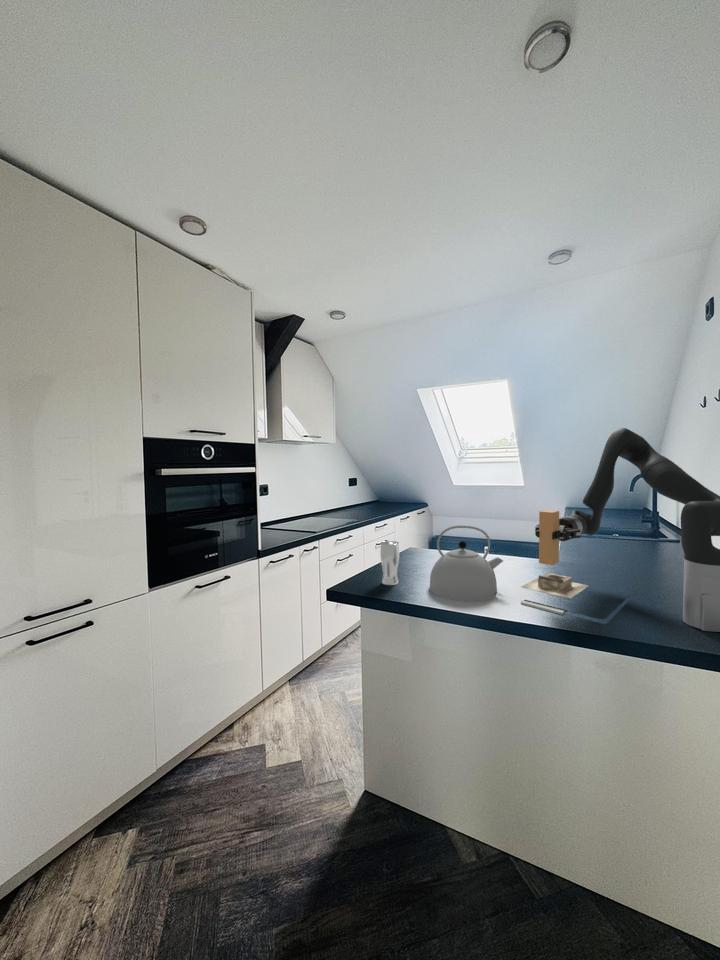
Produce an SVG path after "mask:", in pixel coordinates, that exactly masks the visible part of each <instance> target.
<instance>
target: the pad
mask: <svg viewBox="0 0 720 960" xmlns="http://www.w3.org/2000/svg"><path fill="white" fill-rule="evenodd" d="M520 604H521V605H524V606H528V607H532V608H536V609H538V610H541V611H542V610H543V611H546V612H549V613H553V614H554V613H555V614H558V615H561V616H562V615H564V614H565V613H566V612H568V610H567V609H563V608H560V607H556V606H553V605H548V604H544V603H540V602H536V601H532V600H527V599H524V600H522V601H520Z"/></svg>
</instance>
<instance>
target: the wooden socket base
mask: <svg viewBox="0 0 720 960" xmlns="http://www.w3.org/2000/svg"><path fill="white" fill-rule="evenodd" d="M572 579H573V578H572V576H568V575H567V576H566V575H562V574H555V573H552V572H551V573H550V572H548V573H546V574H543V575H541V574H539V575H538V578H535V579H534V580H532V581H529V582H527V583H526V584H523V585H521V586H520V588H522V589H528V590H531V591H536V592H541V593H545V594H548V595H553V596H558V597H563V598H567V599H572V598H573V597H575V596H577V595H578V594H579V593H581V592H582V591H584V590H585V589H587V588H588V587H589V586H590V585H587V584H585V583H583V584H582V583H578V582H573V581H572Z"/></svg>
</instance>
